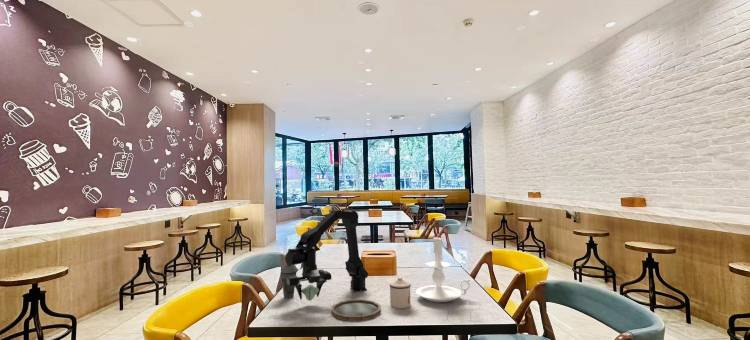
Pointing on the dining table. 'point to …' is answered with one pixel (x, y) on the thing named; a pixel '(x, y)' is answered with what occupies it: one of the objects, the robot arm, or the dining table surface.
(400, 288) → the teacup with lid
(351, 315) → the round tray
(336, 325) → the dining table surface
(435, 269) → the candlestick
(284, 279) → the beverage cup
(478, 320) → the dining table surface
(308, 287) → the grey-green angular piece
